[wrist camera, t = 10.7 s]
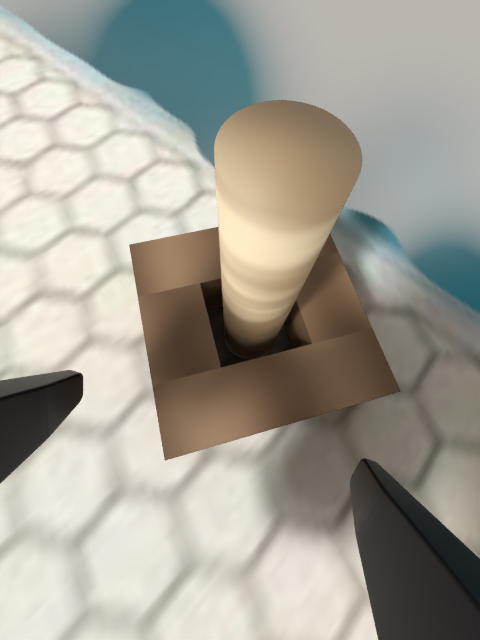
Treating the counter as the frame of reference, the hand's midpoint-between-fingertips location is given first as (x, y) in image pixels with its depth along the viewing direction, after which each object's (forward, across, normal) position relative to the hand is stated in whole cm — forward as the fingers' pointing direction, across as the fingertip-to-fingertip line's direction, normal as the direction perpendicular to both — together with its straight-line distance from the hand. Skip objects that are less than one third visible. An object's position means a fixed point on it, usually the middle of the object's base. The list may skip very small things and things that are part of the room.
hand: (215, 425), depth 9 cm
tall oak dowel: (+11, 0, -2) cm, 11 cm away
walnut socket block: (+11, 0, -2) cm, 11 cm away
